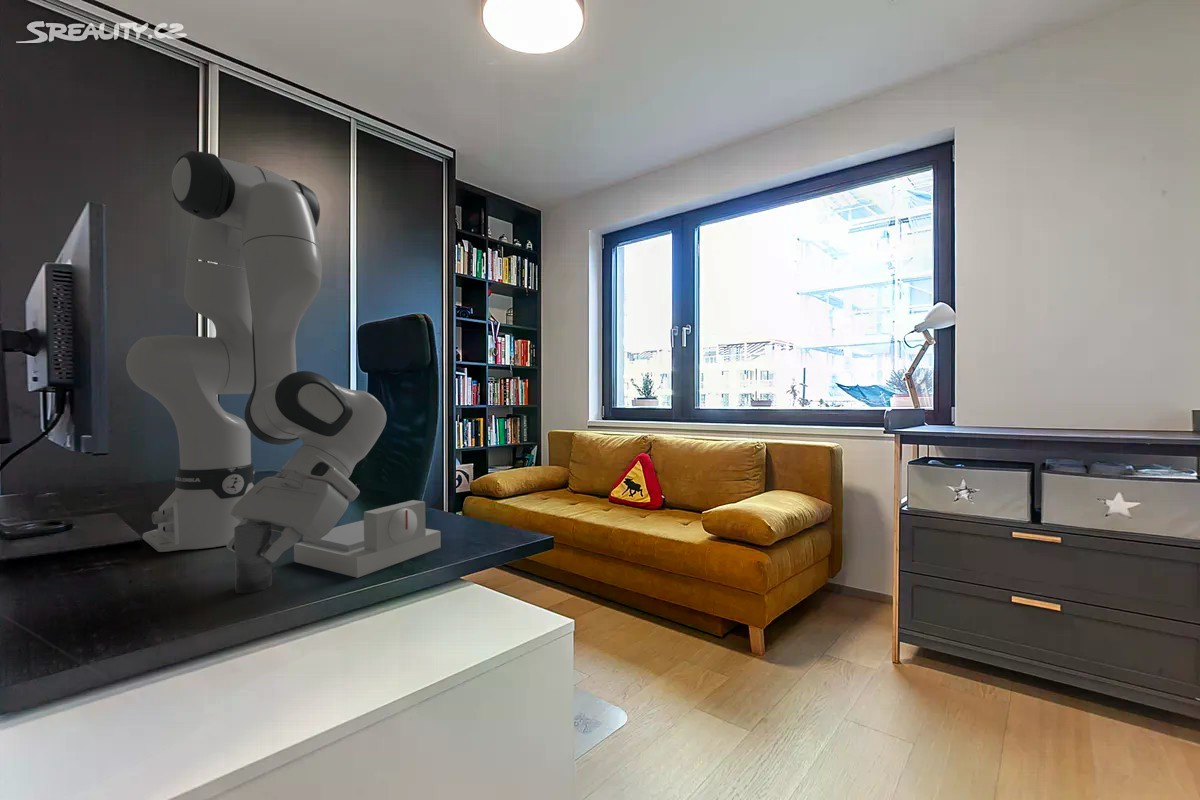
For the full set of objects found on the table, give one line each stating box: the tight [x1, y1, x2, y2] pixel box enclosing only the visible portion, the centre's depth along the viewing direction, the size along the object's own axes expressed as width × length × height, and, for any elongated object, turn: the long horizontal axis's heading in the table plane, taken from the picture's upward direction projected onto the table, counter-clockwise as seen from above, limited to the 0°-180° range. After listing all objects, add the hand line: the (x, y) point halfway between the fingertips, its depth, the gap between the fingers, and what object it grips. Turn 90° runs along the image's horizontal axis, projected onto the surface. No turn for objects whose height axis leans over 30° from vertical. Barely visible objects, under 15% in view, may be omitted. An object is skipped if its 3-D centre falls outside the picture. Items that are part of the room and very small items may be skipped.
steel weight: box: [234, 522, 273, 595], centre depth 75 cm, size 4×4×9 cm
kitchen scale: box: [293, 499, 442, 578], centre depth 90 cm, size 16×17×9 cm
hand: (248, 554), depth 74 cm, fingers open, 7 cm apart
